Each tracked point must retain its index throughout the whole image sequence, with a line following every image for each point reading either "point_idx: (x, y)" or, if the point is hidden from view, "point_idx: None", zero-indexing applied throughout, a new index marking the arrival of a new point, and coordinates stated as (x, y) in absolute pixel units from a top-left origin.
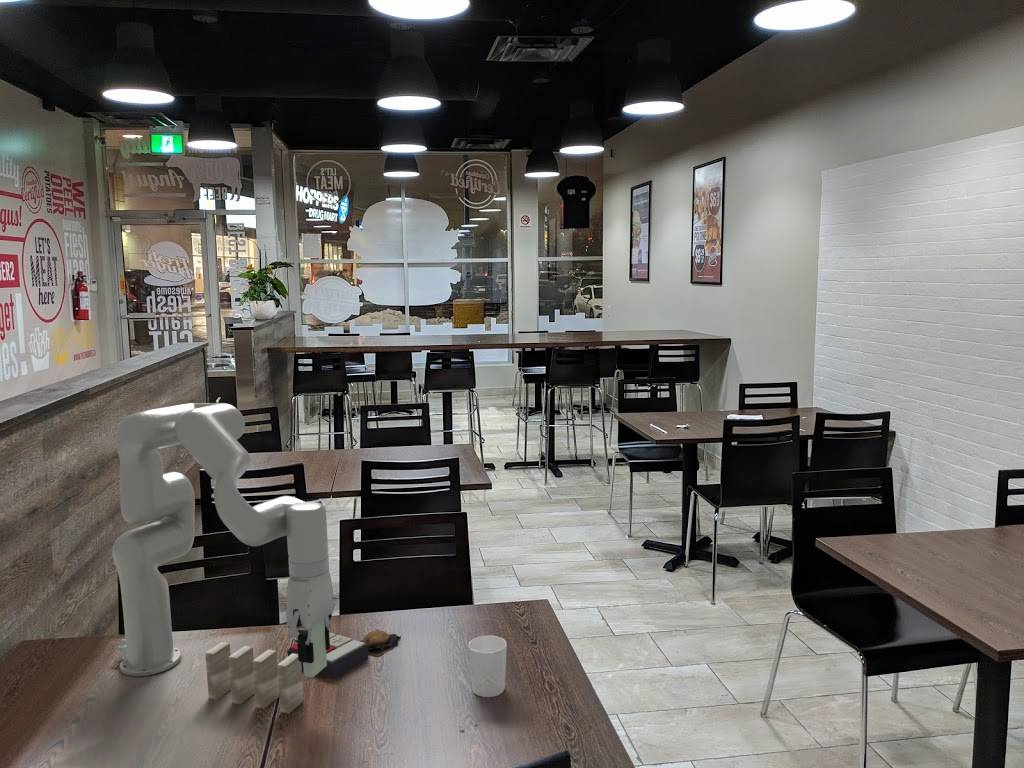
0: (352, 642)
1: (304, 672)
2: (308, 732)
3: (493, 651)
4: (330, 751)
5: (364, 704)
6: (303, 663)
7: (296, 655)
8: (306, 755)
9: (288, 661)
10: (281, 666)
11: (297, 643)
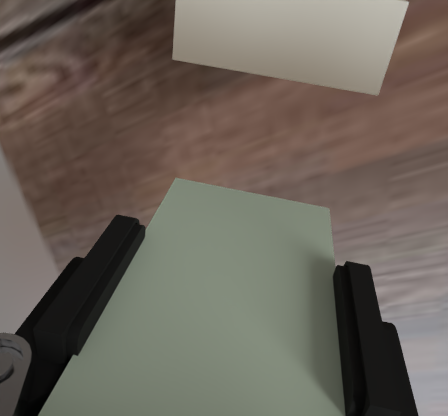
0: None
1: (169, 193)
2: (135, 145)
3: None
4: (75, 237)
5: None
6: (151, 222)
7: (365, 62)
8: (34, 183)
9: (249, 41)
10: (175, 12)
11: (44, 315)
